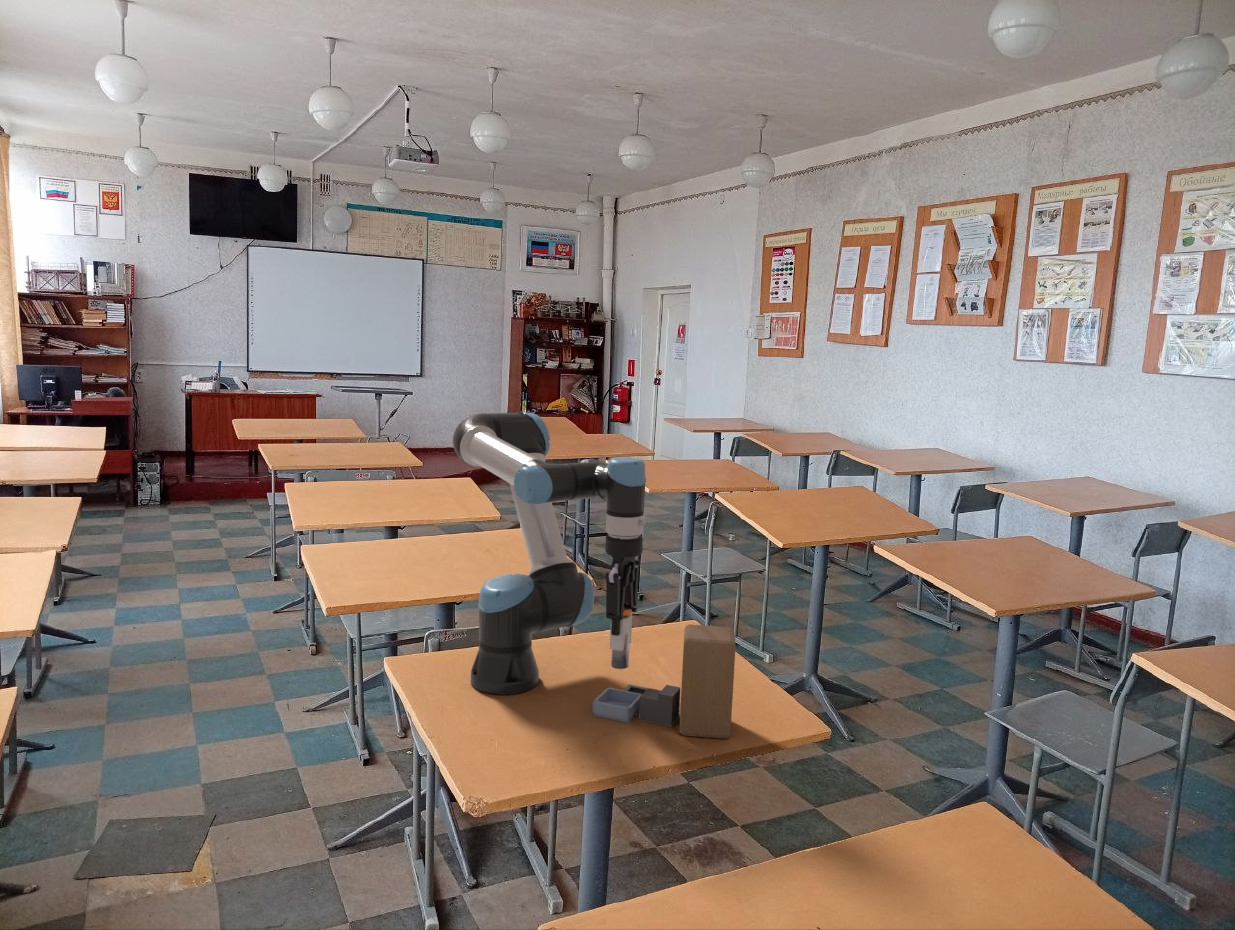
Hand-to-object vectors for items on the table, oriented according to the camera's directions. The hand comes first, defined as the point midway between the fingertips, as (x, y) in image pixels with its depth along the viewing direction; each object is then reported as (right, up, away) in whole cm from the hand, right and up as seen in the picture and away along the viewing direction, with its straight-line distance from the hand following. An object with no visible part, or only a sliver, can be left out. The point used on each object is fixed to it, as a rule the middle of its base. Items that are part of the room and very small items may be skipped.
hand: (620, 645), depth 178 cm
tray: (-1, -14, +2) cm, 14 cm away
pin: (0, -4, +1) cm, 4 cm away
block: (+17, -16, -4) cm, 24 cm away
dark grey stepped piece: (+8, -15, 0) cm, 17 cm away
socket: (+4, -13, +9) cm, 16 cm away
